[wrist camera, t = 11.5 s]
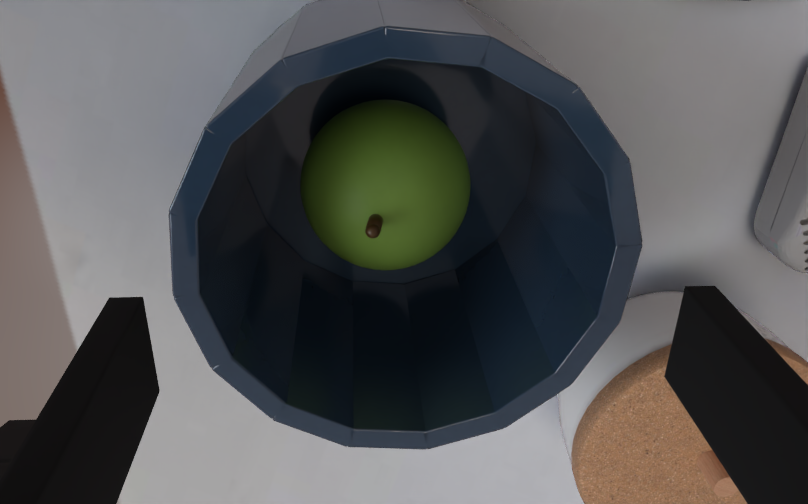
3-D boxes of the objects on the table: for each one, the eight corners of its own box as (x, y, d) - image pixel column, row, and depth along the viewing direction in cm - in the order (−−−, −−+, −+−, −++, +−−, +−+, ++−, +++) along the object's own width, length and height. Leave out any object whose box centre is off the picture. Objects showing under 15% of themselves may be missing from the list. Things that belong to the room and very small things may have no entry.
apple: (287, 144, 29) (234, 216, 23) (405, 47, 27) (384, 96, 21) (383, 252, 31) (361, 348, 25) (500, 171, 29) (510, 252, 22)
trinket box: (599, 223, 32) (687, 338, 24) (785, 293, 34) (925, 420, 26) (497, 399, 36) (541, 550, 28) (669, 450, 39) (757, 603, 30)
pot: (158, 135, 29) (65, 250, 19) (416, -98, 25) (454, -95, 16) (371, 341, 34) (379, 510, 25) (607, 170, 31) (720, 289, 21)
